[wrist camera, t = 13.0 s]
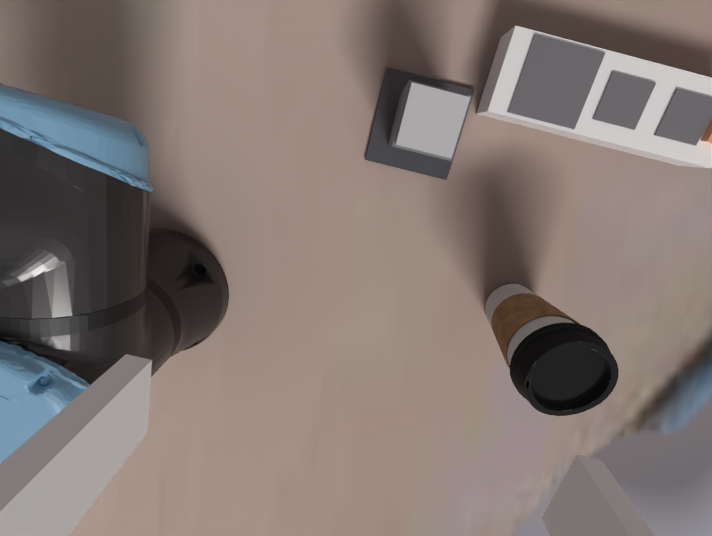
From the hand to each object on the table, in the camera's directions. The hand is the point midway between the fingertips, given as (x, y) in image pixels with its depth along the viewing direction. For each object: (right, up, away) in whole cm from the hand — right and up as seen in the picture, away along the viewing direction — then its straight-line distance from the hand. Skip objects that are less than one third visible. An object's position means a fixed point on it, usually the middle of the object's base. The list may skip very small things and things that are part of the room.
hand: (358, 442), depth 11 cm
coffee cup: (+18, +1, +34) cm, 38 cm away
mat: (+6, +20, +27) cm, 35 cm away
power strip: (+27, +21, +26) cm, 43 cm away
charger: (+6, +20, +27) cm, 34 cm away
